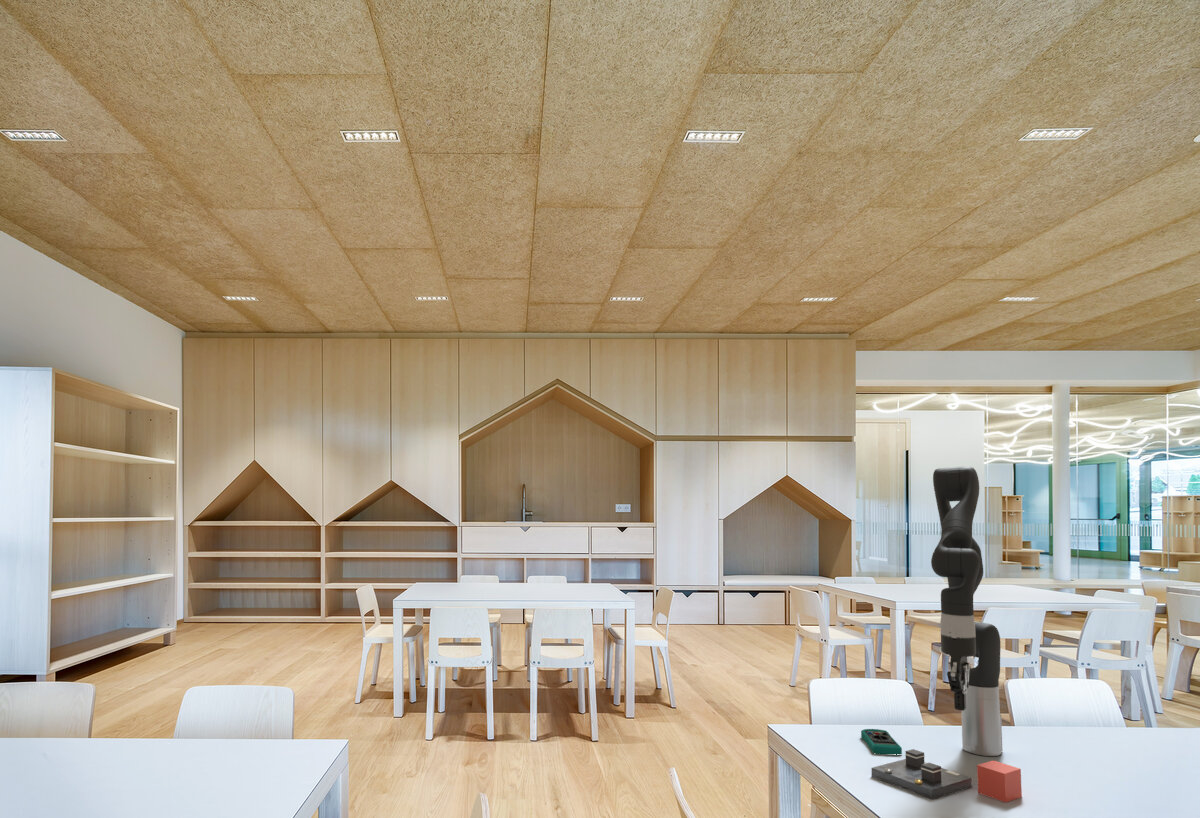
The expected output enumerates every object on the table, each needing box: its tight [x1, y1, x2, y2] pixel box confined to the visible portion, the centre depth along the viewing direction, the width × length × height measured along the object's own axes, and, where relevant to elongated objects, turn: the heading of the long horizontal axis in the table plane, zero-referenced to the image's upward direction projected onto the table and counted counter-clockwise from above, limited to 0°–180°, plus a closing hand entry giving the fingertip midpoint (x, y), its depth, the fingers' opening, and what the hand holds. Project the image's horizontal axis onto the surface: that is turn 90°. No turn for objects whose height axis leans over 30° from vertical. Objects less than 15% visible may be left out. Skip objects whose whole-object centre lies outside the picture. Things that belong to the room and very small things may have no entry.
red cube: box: [976, 760, 1023, 803], centre depth 173 cm, size 6×6×6 cm
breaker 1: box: [905, 748, 925, 768], centre depth 186 cm, size 3×3×3 cm
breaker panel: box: [871, 758, 973, 800], centre depth 180 cm, size 15×16×3 cm
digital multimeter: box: [860, 728, 903, 756], centre depth 207 cm, size 7×15×3 cm, turn 174°
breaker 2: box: [921, 762, 942, 783], centre depth 176 cm, size 3×3×3 cm
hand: (960, 709), depth 180 cm, fingers closed
